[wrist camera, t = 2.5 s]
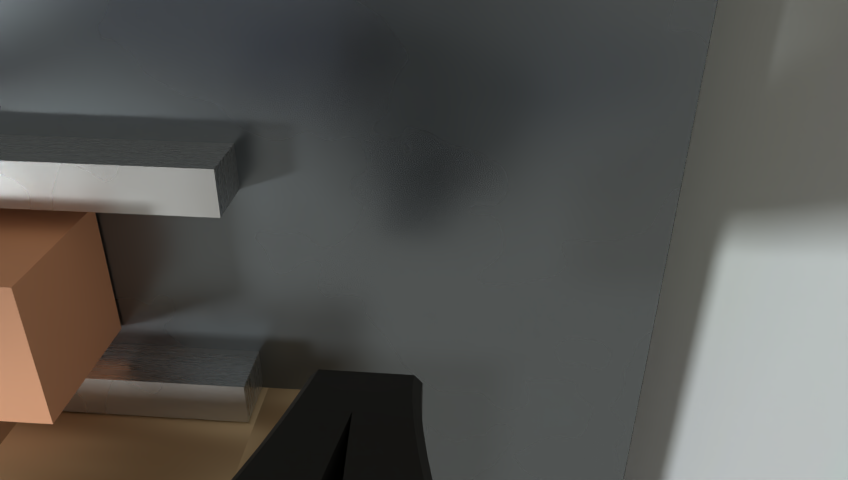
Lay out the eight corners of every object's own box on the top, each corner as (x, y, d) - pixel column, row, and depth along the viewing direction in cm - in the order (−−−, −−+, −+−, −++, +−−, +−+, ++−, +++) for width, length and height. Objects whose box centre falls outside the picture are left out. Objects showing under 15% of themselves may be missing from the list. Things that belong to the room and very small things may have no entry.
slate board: (-263, 545, 20) (-367, 647, 17) (-745, -201, 12) (-1073, -206, 9) (583, 607, 19) (598, 725, 16) (725, -183, 10) (800, -183, 8)
